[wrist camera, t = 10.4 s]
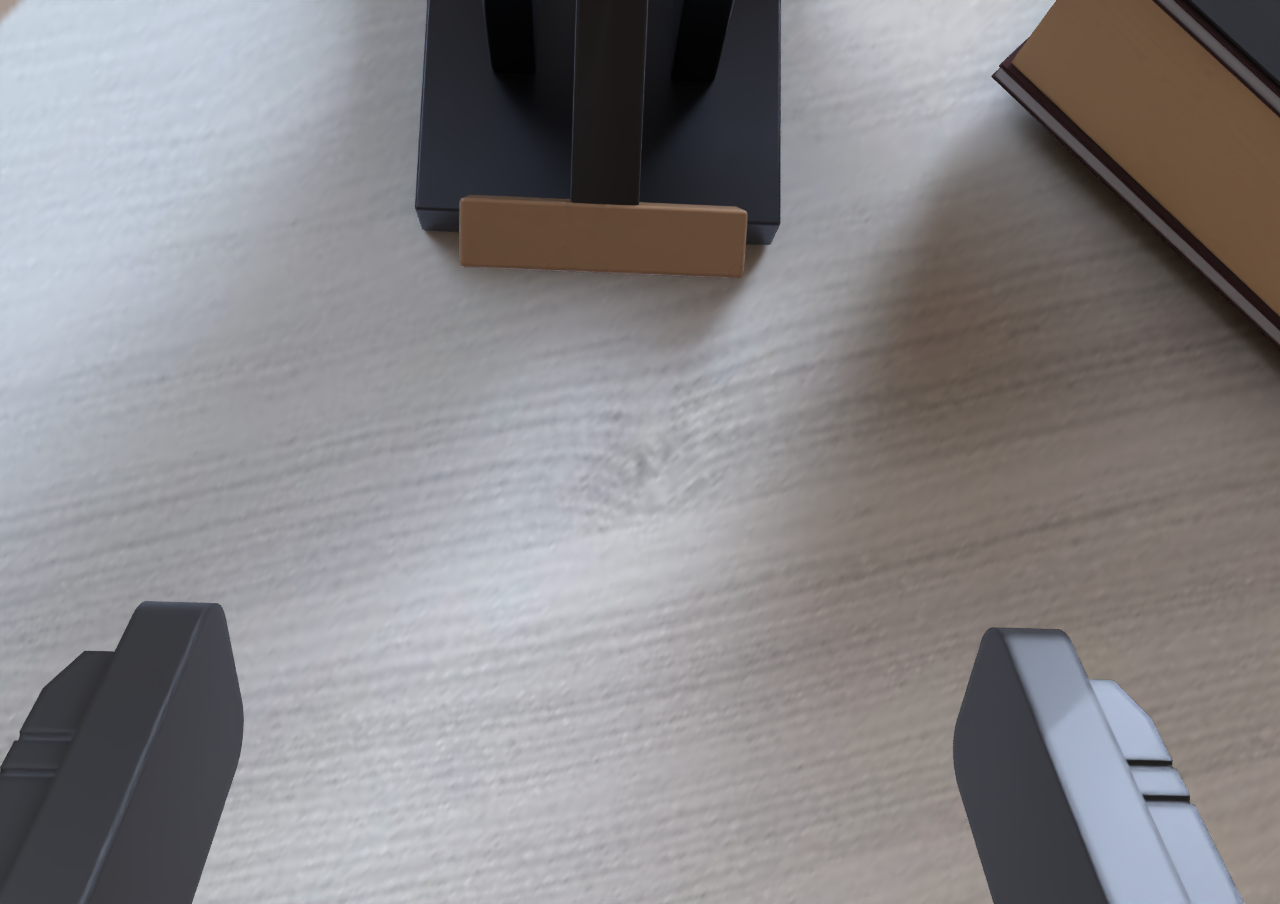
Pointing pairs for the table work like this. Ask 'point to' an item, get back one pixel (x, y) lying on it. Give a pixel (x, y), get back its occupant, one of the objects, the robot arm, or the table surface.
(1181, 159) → the book
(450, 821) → the table surface
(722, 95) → the black pivot stand
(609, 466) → the table surface
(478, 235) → the switch lever
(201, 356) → the table surface
